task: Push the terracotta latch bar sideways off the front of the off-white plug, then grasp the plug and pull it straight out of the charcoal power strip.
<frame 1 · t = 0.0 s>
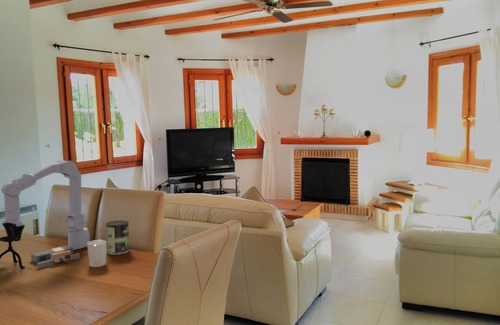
hand: (14, 239, 178), 10 cm above the table, tool pointing down, fingers open, 7 cm apart
plug: (59, 255, 179), point 3 cm above the table, slide at 0.0 cm
coffee can: (118, 251, 193), on the table
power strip: (52, 258, 184), on the table
latch: (61, 254, 177), point 4 cm above the table, slide at 0.0 cm
white cup: (97, 265, 175), on the table
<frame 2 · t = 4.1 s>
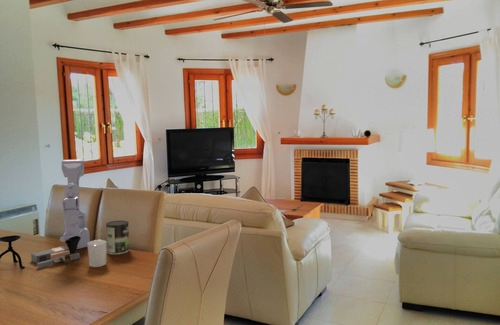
hand: (73, 253, 181), 3 cm above the table, tool pointing down, fingers closed
latch: (60, 254, 177), point 4 cm above the table, slide at 0.5 cm, touching gripper
everything else where it was.
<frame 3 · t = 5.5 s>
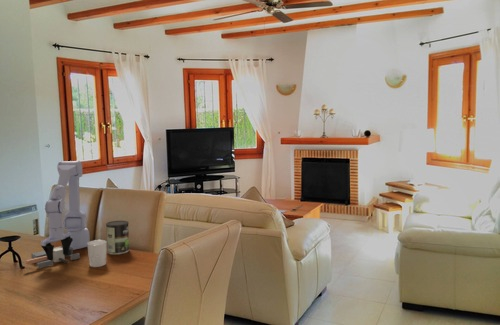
hand: (58, 257, 176), 3 cm above the table, tool pointing down, fingers open, 7 cm apart
plug: (59, 255, 179), point 3 cm above the table, slide at -0.3 cm, touching gripper, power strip
latch: (36, 260, 170), point 4 cm above the table, slide at 10.4 cm, touching gripper
everything else where it was.
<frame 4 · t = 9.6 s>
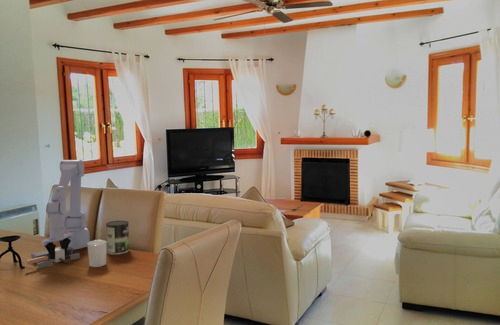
hand: (58, 257, 180), 2 cm above the table, tool pointing down, fingers open, 5 cm apart
plug: (59, 255, 179), point 3 cm above the table, slide at 0.0 cm, touching gripper
latch: (37, 259, 170), point 4 cm above the table, slide at 10.0 cm
everything else where it was.
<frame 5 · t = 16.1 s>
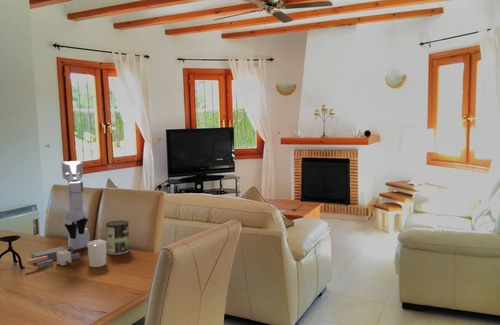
hand: (77, 236, 186), 9 cm above the table, tool pointing down, fingers open, 7 cm apart
plug: (66, 258, 174), point 3 cm above the table, slide at 6.3 cm
everything else where it was.
at the end: latch slide at 10.0 cm; plug slide at 6.3 cm; the gripper is holding nothing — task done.
